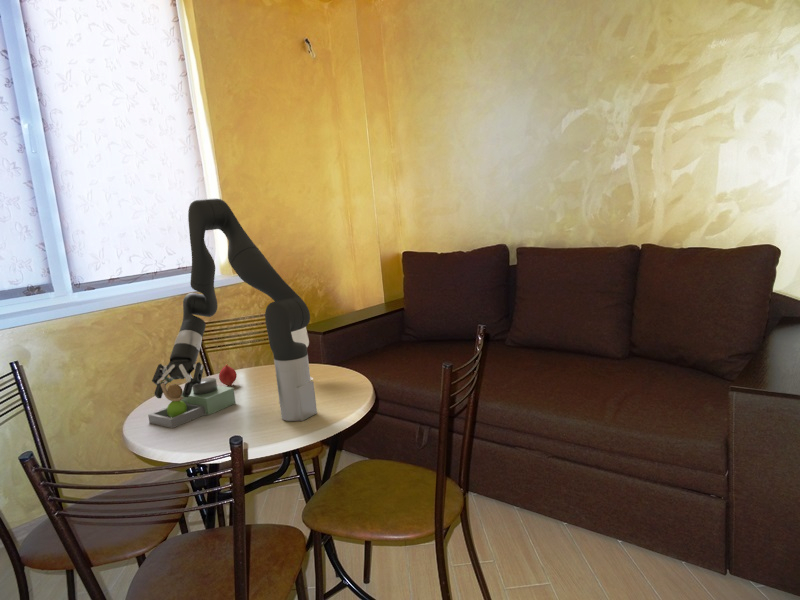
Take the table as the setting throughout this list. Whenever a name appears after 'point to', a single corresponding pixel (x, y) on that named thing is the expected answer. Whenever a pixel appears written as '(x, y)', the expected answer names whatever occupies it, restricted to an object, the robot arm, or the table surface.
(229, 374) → the onion
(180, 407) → the snail figurine
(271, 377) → the table surface
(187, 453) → the table surface
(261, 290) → the robot arm
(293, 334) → the champagne flute
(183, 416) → the box with drawer
